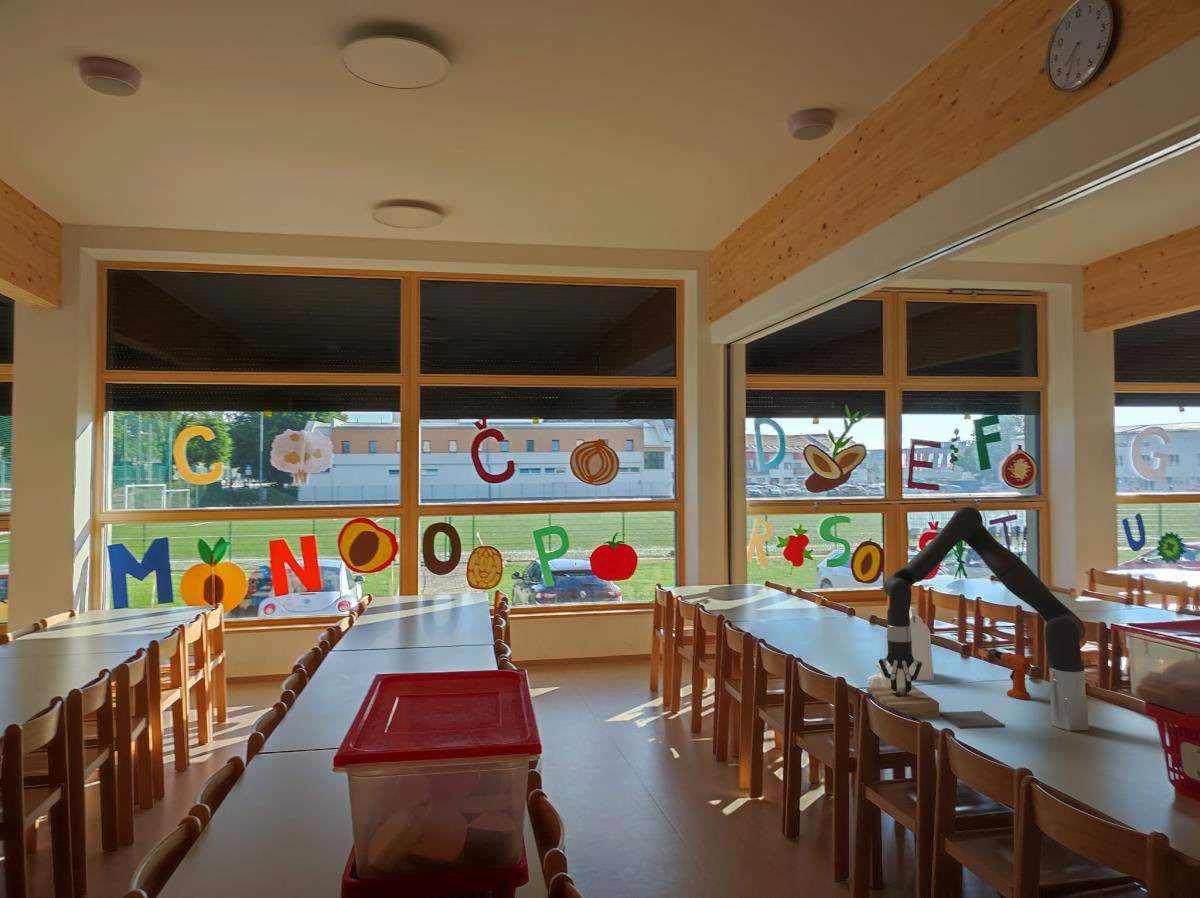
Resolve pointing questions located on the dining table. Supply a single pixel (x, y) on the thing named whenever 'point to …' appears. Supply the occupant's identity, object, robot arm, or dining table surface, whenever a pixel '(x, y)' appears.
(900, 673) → the silver metal cylinder
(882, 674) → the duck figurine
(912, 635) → the milk
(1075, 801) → the dining table surface
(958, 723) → the rubber mat
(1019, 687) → the toy drill
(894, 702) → the block
